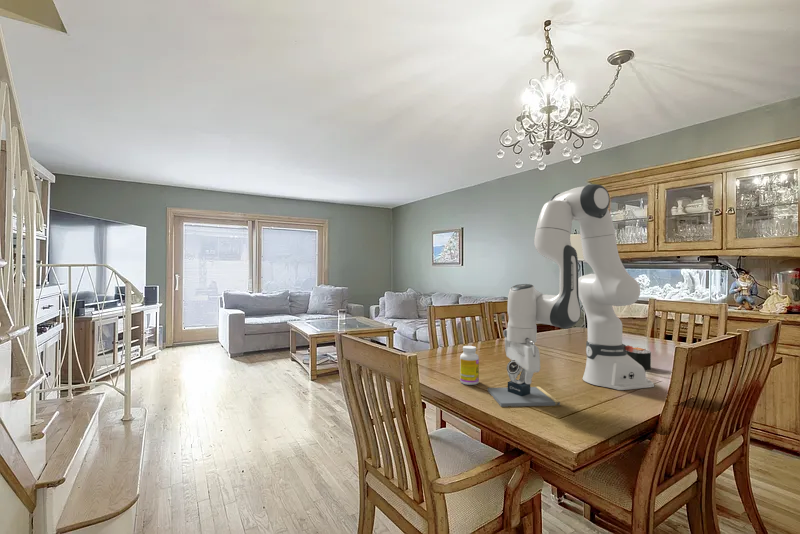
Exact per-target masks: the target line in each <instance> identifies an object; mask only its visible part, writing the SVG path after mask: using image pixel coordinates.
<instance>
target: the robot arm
mask: <svg viewBox="0 0 800 534" xmlns="http://www.w3.org/2000/svg"><path fill="white" fill-rule="evenodd" d="M610 202H611V198H610V194H609V191H608V190H607V189H606V187H604V186H603V185H602V184H595V183H593V184H587V185H584V186H578V187H574V188H570V189H568V190H566V191H562V192H558V193H556V194H554V195H552V196H551V197H550V198H549V199H548V201H546V202H545V203H544V204H543V206H542V208H541V210H540V213H539V216H538V219H537V222H536V223H537V224H536V228H535V233H534V240H533V242H534V247H535V250H536V251H537V252H538V254H540V255H541V256H542V257H544V258H546V259H548V260H549V261H553V262H554V263H555V264H556V265H557V267H558V270H559V290H558V291H559V292H558V294H557V295H556V294H546V293H543V292H540V291H539V290H537V289H536V288H535V286H534V285H533V284H530V283H522V284H516V285H513V286H512V287H510V288H509V292H508V295H507V312H506V313H507V315H508V322H507V328H506V329H504V330H503V336H504V349H505V350H504V351H505V355H506V358H508V359H509V360H510V361H511V360H513V359H514V360H515V361H516V364H518V365H519V366H520V367H522V368H523V369H525V373H526V374H525V377H524V382H525V383H526V384H530V385H531V384H532V379H533V376H534V374H535V373H539V372H540V371H541V358H540V357H541V356H540V355H541V354H540V350H539V347H538V346H537V345H536V343H537V335H538V334H537V330H538V329H537V323H539V324H542V325H550V326H554V327H556V328H560V329H565V330H566V329H567V330H568V329H570V328H572V327H574V326H575V325H576V324H577V323H578V322H579V321H580V319H581V315H582V310H581V304H582V307H583V309H584V312H585V316H586V323H587V324H586V325H587V327H586V329H587V340H586V343H585V345H586V346H585V353H586V355H585V356H586V361H585V369H584V373H583V377H582V380H583V381H584V382H585V383H588V384H591V385H594V386H599V387H602V388H603V387H604V388H610V389H614V390H617V391H624V390H625V391H626V390H637V389H646V388H654V387H655V385H654V382H653V381H651V380H650V379H648V378H647V375H646V370H644V368H643V366H642V365H640V364H639V363H638V362H636V361H635V360H634V359H632V358H631V357H630V356H629V355H627V351H629V352H633V351H634V350H633V348H634V347H633V346H632V345H625V344H624V343H623V321H622V320H621V318H619V317H618V316H617V314H616V313H615V310H614V308H613V307H625V306H630V305H634V304H635V303H636V302H637V301H638V300H639V298H640V295H641V287H640V284H639V282H638V281H637V279H635V278H634V277H632V276H631V275H630V274H629V272H628V271H627V270H626V268H625V266H624V264H623V262H622V260H621V258H620V255H619V249H618V245H617V238H616V230H615V225H614V221H613V218H612V215H611V211H610V210H609V206H610ZM575 221H577V222H578V223H579V233H580V235H579V236H580V242H581V243H580V244H581V251H582V256H583V261H585V263H587V264H588V265H589V266H590V268H591V269H592V272H593V273H589V274H583V275H582V276H579V259H578V258H579V257H578V253H577V250H576V249H575V247H573V246H572V243H571V234H572V225H573V224H572V223H573V222H575ZM580 301H581V303H580ZM626 350H627V351H626ZM520 375H521V372H520V373H519V374H518V376H520Z"/></svg>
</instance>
